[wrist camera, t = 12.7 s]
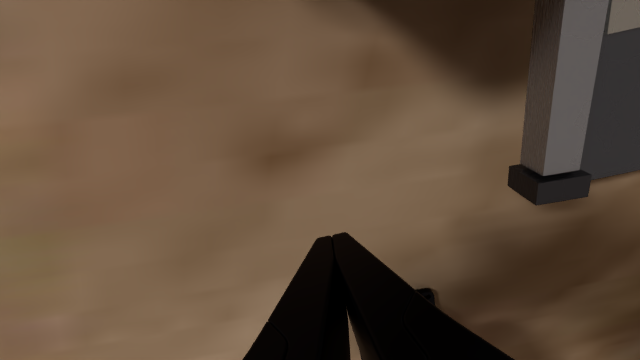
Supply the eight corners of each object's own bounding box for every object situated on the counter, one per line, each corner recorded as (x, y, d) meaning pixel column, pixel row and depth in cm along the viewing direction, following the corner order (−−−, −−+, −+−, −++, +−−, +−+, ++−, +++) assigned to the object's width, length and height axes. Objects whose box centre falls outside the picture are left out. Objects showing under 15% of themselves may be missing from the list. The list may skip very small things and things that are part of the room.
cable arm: (523, 161, 21) (587, 196, 16) (482, 168, 21) (535, 205, 16) (554, -160, 15) (673, -253, 10) (497, -150, 15) (589, -238, 10)
